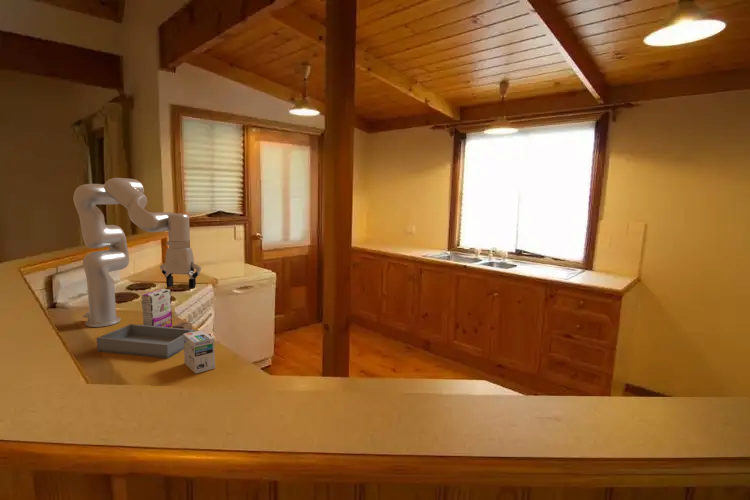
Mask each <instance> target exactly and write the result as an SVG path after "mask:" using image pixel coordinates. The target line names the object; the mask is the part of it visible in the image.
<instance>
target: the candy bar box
mask: <svg viewBox="0 0 750 500" xmlns="http://www.w3.org/2000/svg"><path fill="white" fill-rule="evenodd" d="M171 297H172V295H171V289H167V288H160V289H157V290H154V291H150V292H148V293H144V294H141V306H142V308H141V309H142V322H143V324H142V325H147V326H158V327H169V328H172V326H173V317H172V316H173V315H172V312H173V311H172V299H171Z"/></svg>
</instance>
